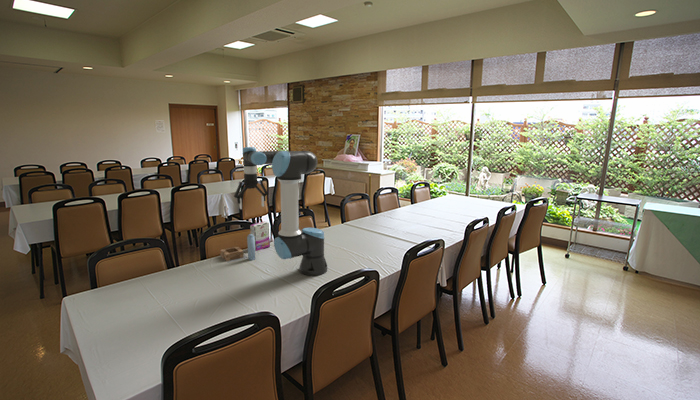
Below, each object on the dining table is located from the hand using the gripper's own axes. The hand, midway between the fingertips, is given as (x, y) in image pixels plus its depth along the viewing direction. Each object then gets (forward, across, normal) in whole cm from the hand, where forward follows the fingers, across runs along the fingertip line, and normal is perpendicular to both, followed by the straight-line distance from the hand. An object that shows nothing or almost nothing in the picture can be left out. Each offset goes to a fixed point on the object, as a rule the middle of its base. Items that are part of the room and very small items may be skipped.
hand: (252, 207), depth 211 cm
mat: (+27, +14, +6) cm, 31 cm away
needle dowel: (+28, +6, +15) cm, 32 cm away
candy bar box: (+28, -5, -1) cm, 28 cm away
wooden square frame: (+27, +15, +6) cm, 31 cm away
